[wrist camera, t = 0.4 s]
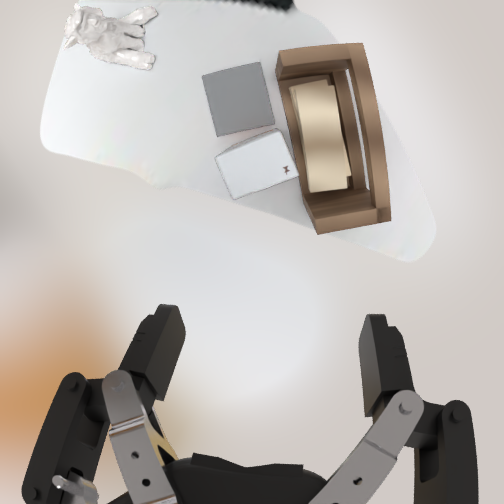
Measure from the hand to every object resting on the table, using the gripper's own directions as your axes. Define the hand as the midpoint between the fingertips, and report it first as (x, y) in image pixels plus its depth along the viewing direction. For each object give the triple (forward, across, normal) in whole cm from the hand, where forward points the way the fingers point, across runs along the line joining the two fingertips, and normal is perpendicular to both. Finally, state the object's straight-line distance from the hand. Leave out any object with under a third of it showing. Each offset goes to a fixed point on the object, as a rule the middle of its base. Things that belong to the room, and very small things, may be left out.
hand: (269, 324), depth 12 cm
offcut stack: (+26, -3, -2) cm, 27 cm away
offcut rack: (+27, -3, -2) cm, 28 cm away
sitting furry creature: (+28, +20, -16) cm, 38 cm away
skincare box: (+26, +3, 0) cm, 27 cm away
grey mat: (+27, +6, -6) cm, 28 cm away
